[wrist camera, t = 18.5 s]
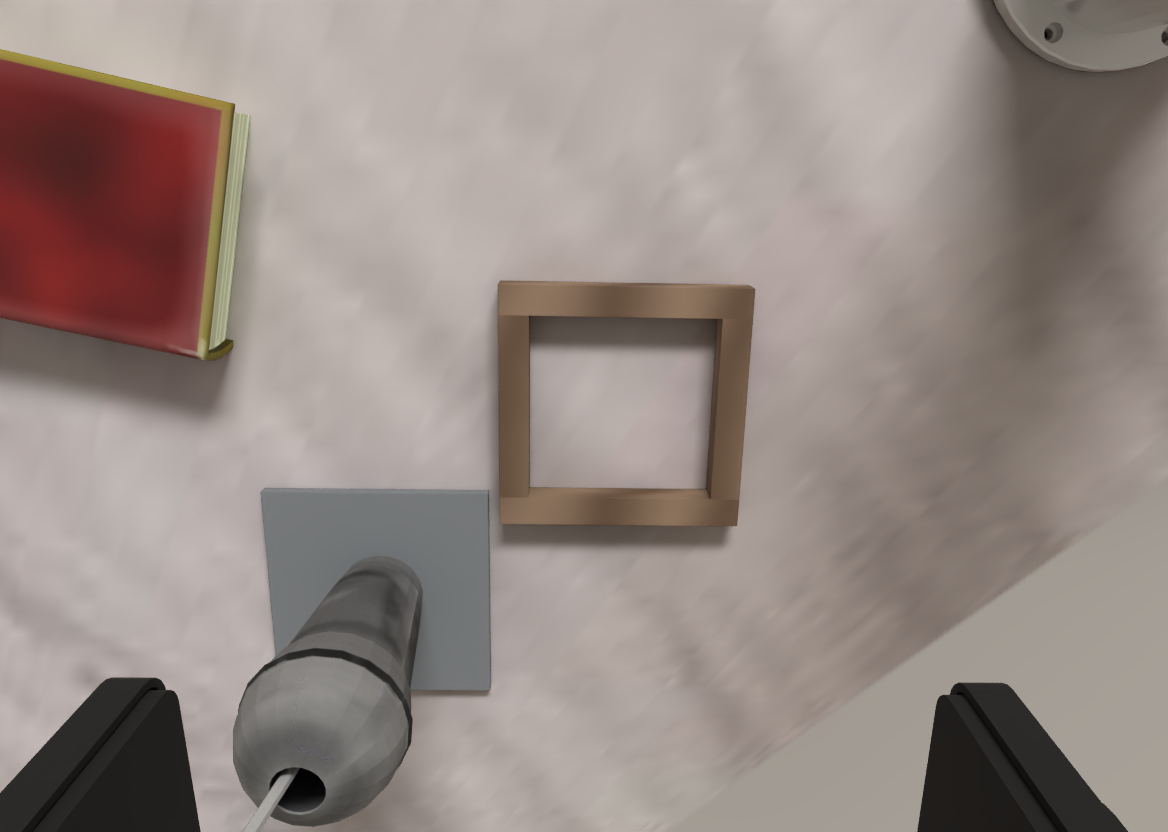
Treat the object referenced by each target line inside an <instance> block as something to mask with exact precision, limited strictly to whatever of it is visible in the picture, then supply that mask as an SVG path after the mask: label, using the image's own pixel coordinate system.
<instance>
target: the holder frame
mask: <svg viewBox="0 0 1168 832" xmlns="http://www.w3.org/2000/svg"><path fill="white" fill-rule="evenodd" d="M754 299H755V289H754V288H753V287H751V286H750V285H717V284H660V283H603V282H546V281H500V282H499V284H498V341H499V470H500V524H562V525H669V526H737V521H738V508H739V494H740V481H741V468H742V455H743V442H744V429H745V416H746V403H747V390H748V377H749V364H750V351H751V338H752V325H753V312H754ZM530 316H582V317H643V318H704V319H717V329H716V345H715V360H714V376H713V391H712V407H711V422H710V438H709V453H708V469H707V484H706V489H632V488H537V487H530Z"/></svg>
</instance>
